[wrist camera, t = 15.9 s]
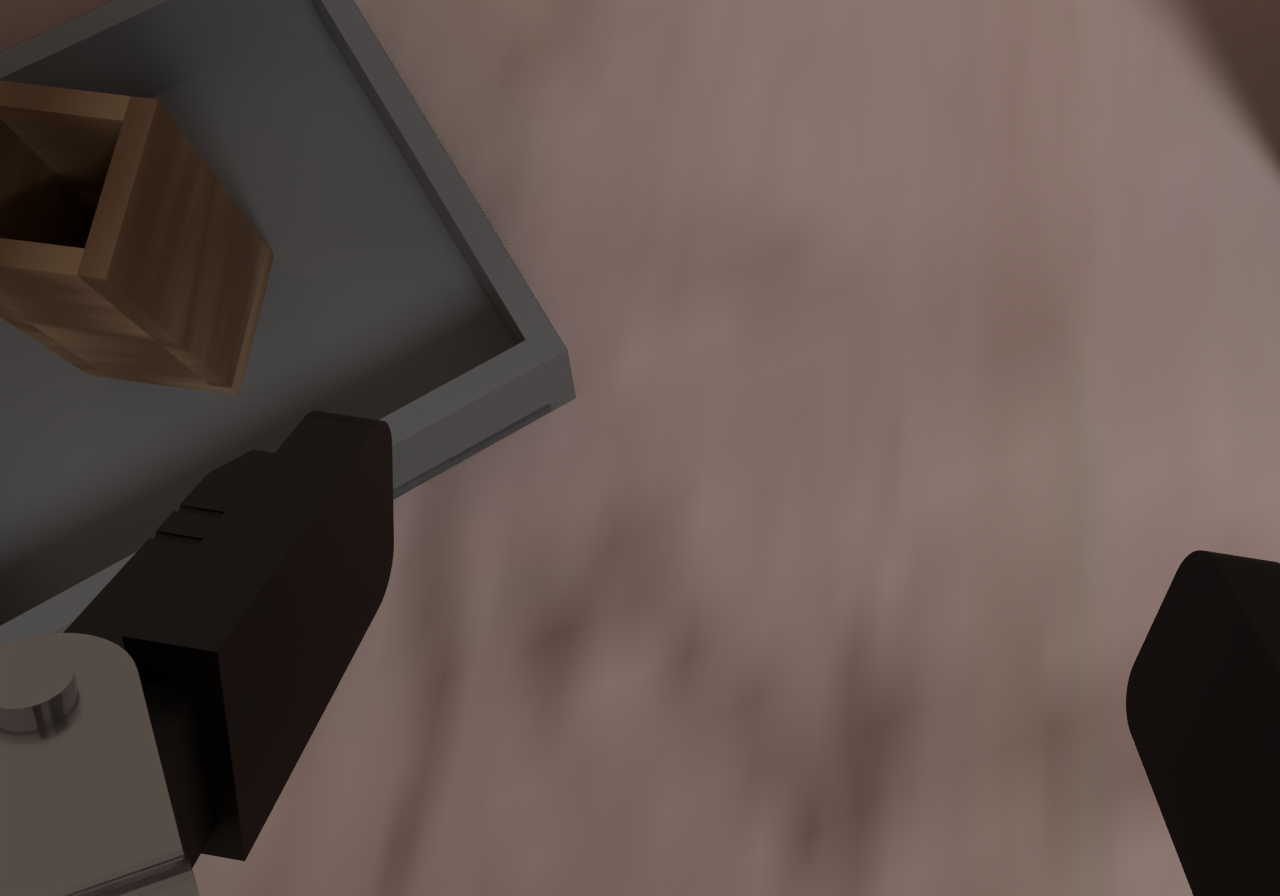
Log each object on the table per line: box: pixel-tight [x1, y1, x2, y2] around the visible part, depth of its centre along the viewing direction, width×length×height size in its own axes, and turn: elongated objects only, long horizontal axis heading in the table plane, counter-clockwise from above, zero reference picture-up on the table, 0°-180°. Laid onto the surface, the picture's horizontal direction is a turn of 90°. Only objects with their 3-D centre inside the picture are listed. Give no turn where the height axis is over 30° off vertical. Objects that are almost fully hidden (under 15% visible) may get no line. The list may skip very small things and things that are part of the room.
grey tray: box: [0, 0, 576, 645], centre depth 37 cm, size 22×20×5 cm
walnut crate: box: [0, 80, 274, 395], centre depth 34 cm, size 6×6×10 cm
